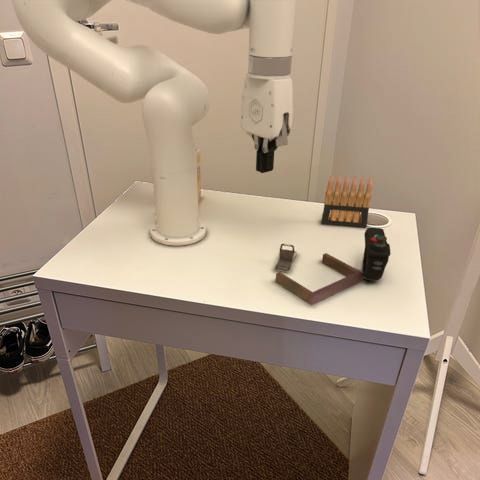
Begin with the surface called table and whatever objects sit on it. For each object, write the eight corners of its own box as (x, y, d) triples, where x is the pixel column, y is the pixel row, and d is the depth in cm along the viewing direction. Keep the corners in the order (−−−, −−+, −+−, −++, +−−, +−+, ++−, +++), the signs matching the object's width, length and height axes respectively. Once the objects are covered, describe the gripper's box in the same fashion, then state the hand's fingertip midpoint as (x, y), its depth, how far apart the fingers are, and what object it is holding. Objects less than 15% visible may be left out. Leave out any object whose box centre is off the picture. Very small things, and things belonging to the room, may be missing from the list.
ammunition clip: (365, 224, 114) (375, 176, 107) (366, 228, 112) (375, 178, 105) (321, 221, 115) (327, 172, 108) (321, 224, 114) (327, 175, 106)
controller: (360, 289, 90) (370, 242, 84) (357, 259, 100) (366, 215, 94) (383, 292, 89) (395, 245, 84) (378, 261, 99) (388, 216, 93)
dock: (275, 282, 92) (275, 273, 90) (324, 261, 99) (326, 252, 98) (311, 305, 85) (312, 296, 84) (361, 281, 93) (363, 272, 91)
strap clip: (283, 252, 102) (285, 234, 99) (297, 254, 101) (299, 236, 98) (273, 271, 95) (275, 252, 93) (288, 273, 94) (290, 254, 92)
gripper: (227, 63, 85) (226, 164, 96) (282, 75, 76) (275, 185, 87) (258, 60, 89) (255, 157, 100) (315, 71, 80) (304, 177, 90)
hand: (264, 170), depth 93 cm, fingers closed
